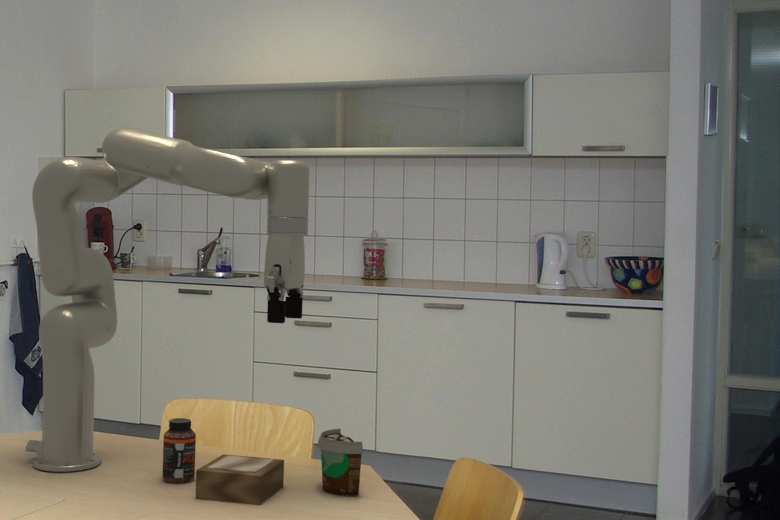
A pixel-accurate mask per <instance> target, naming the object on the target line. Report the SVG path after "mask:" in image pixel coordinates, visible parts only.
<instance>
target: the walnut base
mask: <svg viewBox="0 0 780 520" xmlns="http://www.w3.org/2000/svg"><path fill="white" fill-rule="evenodd" d="M284 473H285V459H280V458H279V459H278V458H270V457H268V458H267V457H257V456H247V455H237V454H235V455H234V454H233V455H232V454H222V455H220V456H218V457H216V458H215V459H213V460H211V461H210V462H208V463H206V464H204V465H203V466H201V467H199V468H197V469H195V499H197V500H208V501H209V500H210V501H218V502H227V503H237V504H249V505H256V506H261V505H262V504H263V503H265V502H266V501H267V500H269V498H271V497H272V496H274V495H275V494H277V492H279V491H280V490H281V489H282V488H284V484H285V483H284V480H285V478H284V477H285V474H284Z"/></svg>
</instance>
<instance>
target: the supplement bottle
mask: <svg viewBox="0 0 780 520" xmlns="http://www.w3.org/2000/svg"><path fill="white" fill-rule="evenodd" d="M196 436H197V435H196V432H195V431H194V430H193V429H192V420H191V419H189V418H186V417H185V418H183V417H180V418H179V417H178V418H177V417H175V418H171V419H169V420H168V430H167V431H165V432H164V434H163V446H162V447H163V448H162V480H163V481H165V482H167V483H172V484H184V483H188V482H191V481H192V480H194V479H195V475H196V442H197V441H196V439H197V437H196Z"/></svg>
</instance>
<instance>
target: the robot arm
mask: <svg viewBox="0 0 780 520" xmlns="http://www.w3.org/2000/svg"><path fill="white" fill-rule="evenodd" d="M101 151H102V156H103V158H102V159H100V160H99V159H98V160H97V159H91V158H85V157H78V156H77V157H76V156H66V157H62V158H61V157H60V158H57V159H54V160H52V161H51V162H49V163H48V164H46V165H45V166H44V167H43V168H42V169H41V170H40V172H39V173H38V174H37V176H36V178H35V181H34V182H33V186H32V195H31V196H32V197H31V198H32V205H33V207H32V208H33V214H34V218H35V223H36V225H35V226H36V231H37V246H38V247H37V248H38V255H39V269H40V275H41V281H42V286H43V287H44V289H45V290H46V292H48V293H49V294H50V295H53V296H55V297H62V298H63V297H71V302H70V303H69V302H68V303H62V304H59V305H57V306H54V307H52V308H50V309H48V310H47V312H46V313H45V314H44V315H43V317H42V318H41V320H40V323H39V327H38V338H39V344H40V350H41V356H42V427H41V428H42V430H41V432H42V434H41V436H42V437H41V440H38V439H37V440H36V439H29V440H28V441H27V443H26V446H25V451H26V452H29V453H36V457H35V458H34V459H33V462H32V463H33V464H32V465H33V467H34V468H35V469H37V470H41V471H45V472H54V473H59V472H60V473H65V472H77V471H78V472H79V471H84V470H89V469H92V468H95V467H98V466H99V465H100V464H101V463H102V456H101V455H100V454H98V453H97V452H94V426H95V424H94V423H95V422H94V421H95V417H94V416H95V413H94V412H95V368H94V363H93V359H92V355H91V352H90V349H93V348H98V347H101V346H104V345H106V344H107V343H109V342H110V341H111V340H112V338H113V337H115V333H116V332H117V331H116V330H117V327H118V313H117V312H118V311H117V302H116V292H115V281H114V274H113V270H112V266H111V263H110V261H109V260H108V258H107V256H105V254H103V252H101V251H99V250H98V249H95V248H93V247H91V248H90V247H86V245H85V240H84V239H85V238H84V227H83V222H82V220H81V217H80V214H79V212H78V211H77V208H76V203H79V202H81V203H82V202H83V203H95V204H97V203H98V204H101V203H102V204H103V203H108V202H111V201H113V200H115V199H118V198H119V197H120V196H122V195H124V194H125V193H127V192H129V191H130V190H131V189H133V188H135V187H136V186H138V185H140V184H141V183H144V181H147V179H152V180H157V181H160V182H165V183H169V184H172V185H176V186H180V187H189V188H192V189H196V190H199V191H204V192H208V193H212V194H216V195H221V196H222V197H223V196H224V197H229V198H232V199H244V200H252V201H253V200H254V201H260V200H266V199H267V206H266V209H267V211H266V212H267V214H266V216H267V218H266V236H267V242H266V250H265V261H264V272H263V286H264V288H266V291H267V297H266V299H267V313H266V314H267V317H266V319H267V323H269V324H270V323H271V324H285V323H286V319H297V320H298V319H300V320H301V319H302V317H303V299H304V298H303V296H304V291H303V288H304V285H305V274H306V273H305V272H306V271H305V270H306V269H305V268H306V267H305V266H306V265H305V264H306V261H305V260H306V259H305V257H306V256H305V254H306V253H305V237H308V235H309V234H308V232H309V205H310V204H309V202H310V201H309V200H310V199H309V196H310V193H309V192H310V167H309V165H308V163H307V162H305V161H302V160H297V159H295V160H294V159H278V160H273V161H272V162H270V161H265V160H259V159H254V158H250V157H246V156H245V157H244V156H239V155H236V154H235V155H234V154H230V153H226V152H220V151H216V150H212V149H208V148H204V147H200V146H196V145H194V144H193V143H192V142H190V141H188V140H185V139H180V138H177V137H170V136H167V135H161V134H157V133H155V132H149V131H145V130H141V129H136V128H132V127H119V128H115V129H113V130H111V131H110V132H109V133H107V134H106V136H105V137H104V139H103V142H102V145H101ZM286 294H287V296H285V295H286Z"/></svg>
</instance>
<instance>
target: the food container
mask: <svg viewBox="0 0 780 520" xmlns="http://www.w3.org/2000/svg"><path fill="white" fill-rule="evenodd" d="M341 433H342V432H341V428H333V429H327V430H324V431H322V432H320V435H319V437H318V441H317V444H316V445H317V448H318V449H320V454H321V455H320V458H321V459H320V460H321V461H320V462H321V478H322V479H321V480H322V482H321V483H322V490H323V491H324V492H325V493H327V494H330V495H336V496H342V497H356V496H357V495H360V484H361V483H360V480H361V479H360V478H361V468H362V466H361V465H362V454H364V448H363V447H364V446H363V441H354V440H353V438H351V437H349V436H345V435H343V434H341Z"/></svg>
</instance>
